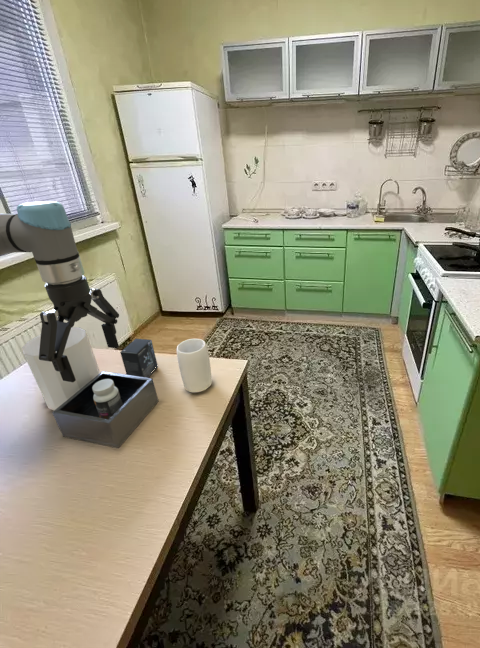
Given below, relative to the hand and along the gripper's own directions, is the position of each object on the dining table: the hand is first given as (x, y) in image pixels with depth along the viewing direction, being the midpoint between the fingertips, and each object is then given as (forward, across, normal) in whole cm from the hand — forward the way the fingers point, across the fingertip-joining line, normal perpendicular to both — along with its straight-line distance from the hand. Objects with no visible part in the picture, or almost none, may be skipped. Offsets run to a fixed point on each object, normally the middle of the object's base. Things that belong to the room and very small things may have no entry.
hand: (93, 362), depth 77 cm
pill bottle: (+17, 0, 0) cm, 17 cm away
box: (+18, +18, +4) cm, 26 cm away
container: (+18, +6, +18) cm, 26 cm away
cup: (+18, +16, -16) cm, 29 cm away
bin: (+18, 0, 0) cm, 18 cm away
